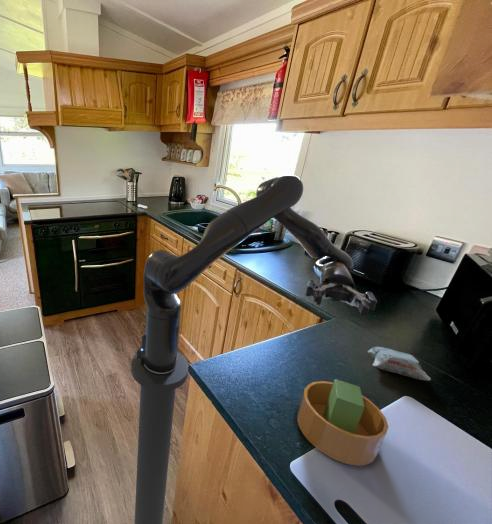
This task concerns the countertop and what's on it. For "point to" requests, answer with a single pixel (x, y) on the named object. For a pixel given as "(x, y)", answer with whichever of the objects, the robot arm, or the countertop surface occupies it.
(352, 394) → the green block
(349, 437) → the orange round bowl
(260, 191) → the robot arm
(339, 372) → the countertop surface
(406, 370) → the packaged food
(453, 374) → the countertop surface
